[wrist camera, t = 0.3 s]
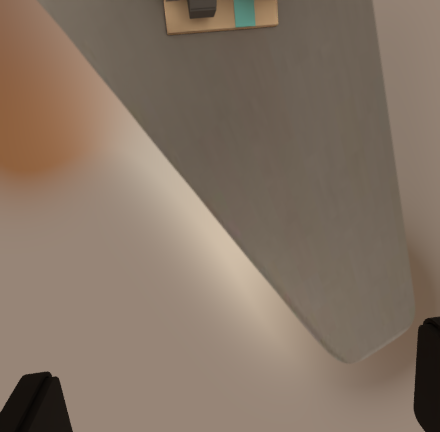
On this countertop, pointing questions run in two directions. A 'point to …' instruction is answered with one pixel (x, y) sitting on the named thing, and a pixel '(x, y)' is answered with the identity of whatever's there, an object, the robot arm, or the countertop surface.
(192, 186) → the countertop surface
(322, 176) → the countertop surface
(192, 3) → the octagonal nut
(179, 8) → the rail
